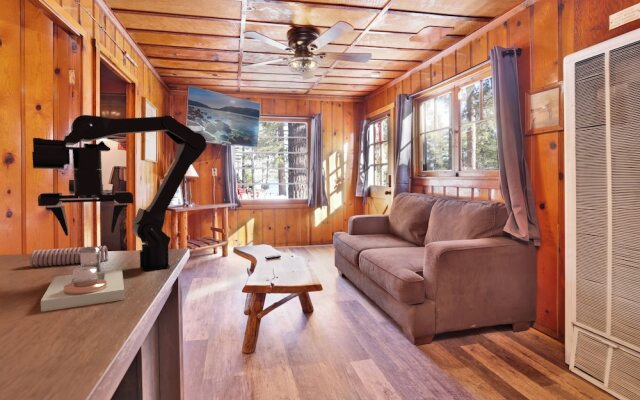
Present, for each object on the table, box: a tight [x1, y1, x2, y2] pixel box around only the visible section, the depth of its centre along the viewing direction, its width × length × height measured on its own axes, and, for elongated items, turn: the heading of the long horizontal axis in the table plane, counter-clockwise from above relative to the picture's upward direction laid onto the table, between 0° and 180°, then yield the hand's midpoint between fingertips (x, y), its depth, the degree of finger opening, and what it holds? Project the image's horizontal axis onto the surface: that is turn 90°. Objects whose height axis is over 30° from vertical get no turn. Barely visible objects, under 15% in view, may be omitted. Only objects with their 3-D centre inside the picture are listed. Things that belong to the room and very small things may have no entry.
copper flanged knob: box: [64, 267, 107, 295], centre depth 69 cm, size 7×7×4 cm
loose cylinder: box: [79, 245, 102, 272], centre depth 86 cm, size 4×4×7 cm
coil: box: [29, 245, 109, 268], centre depth 99 cm, size 5×5×18 cm
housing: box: [40, 268, 125, 312], centre depth 74 cm, size 13×18×2 cm
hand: (90, 233), depth 85 cm, fingers open, 9 cm apart
